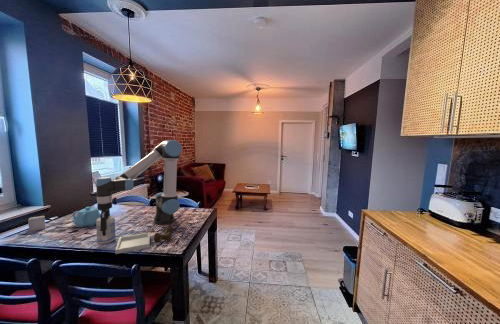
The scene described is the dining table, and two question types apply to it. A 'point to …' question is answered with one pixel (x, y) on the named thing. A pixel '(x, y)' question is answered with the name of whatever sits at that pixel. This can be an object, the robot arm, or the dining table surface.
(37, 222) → the medicine box
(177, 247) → the dining table surface
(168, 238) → the kendama
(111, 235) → the supplement tub
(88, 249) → the dining table surface
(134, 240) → the sage tray
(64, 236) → the dining table surface
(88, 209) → the decorative pot
